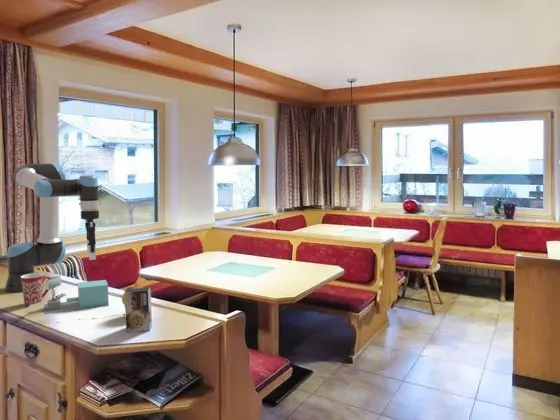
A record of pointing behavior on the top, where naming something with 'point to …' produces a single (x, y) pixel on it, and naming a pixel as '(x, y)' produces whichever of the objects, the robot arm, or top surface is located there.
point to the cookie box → (138, 309)
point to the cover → (91, 294)
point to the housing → (64, 306)
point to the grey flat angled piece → (53, 286)
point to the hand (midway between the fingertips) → (91, 256)
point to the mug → (33, 288)
